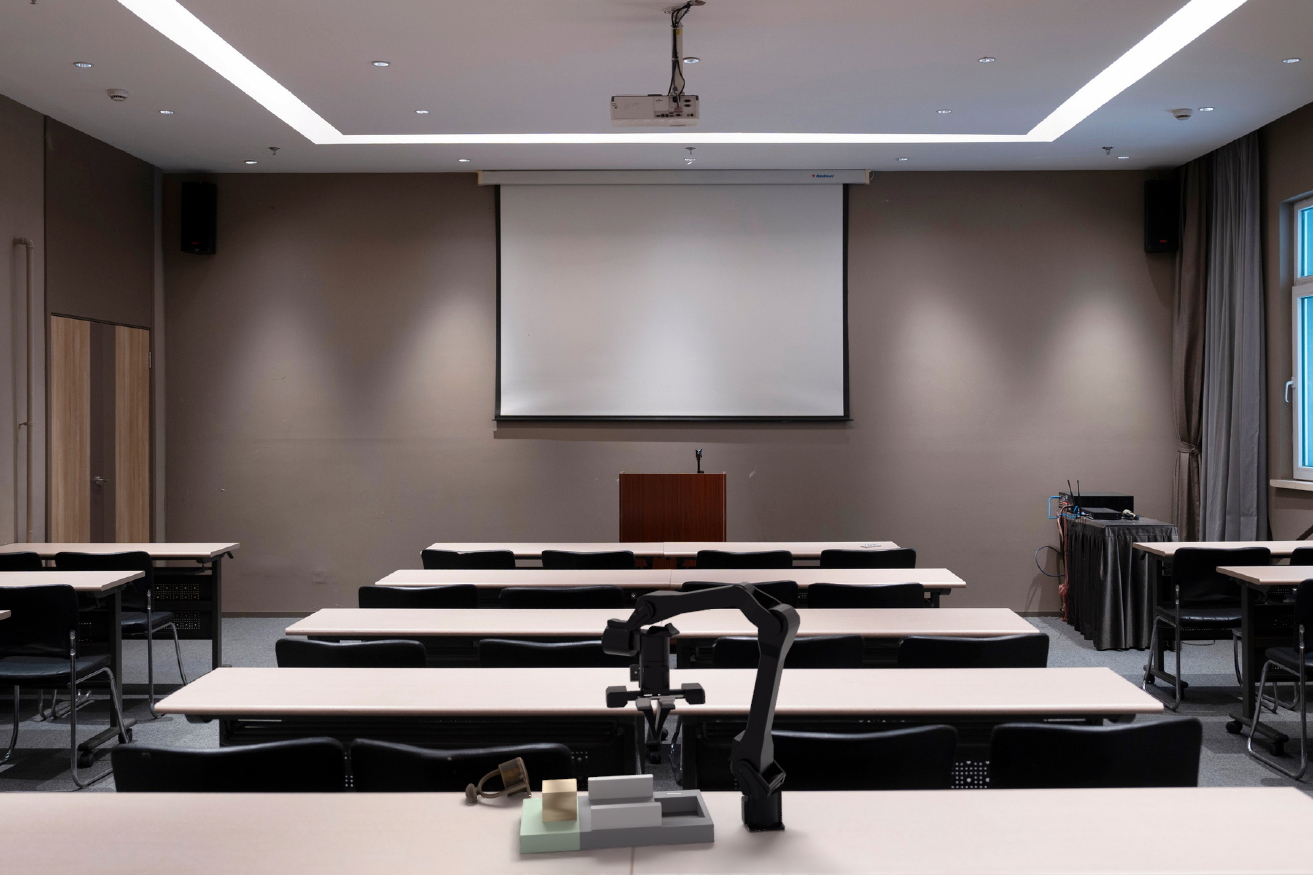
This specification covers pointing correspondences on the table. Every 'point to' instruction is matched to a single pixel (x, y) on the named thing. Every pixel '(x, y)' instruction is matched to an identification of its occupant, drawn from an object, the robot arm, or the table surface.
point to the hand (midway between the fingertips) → (655, 740)
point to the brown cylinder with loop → (512, 779)
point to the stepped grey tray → (619, 818)
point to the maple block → (559, 800)
